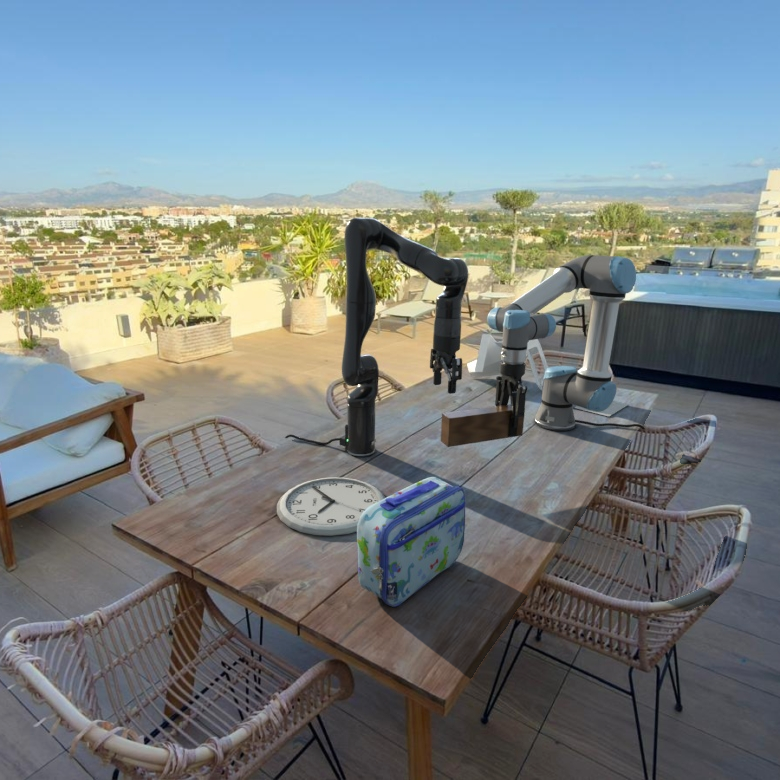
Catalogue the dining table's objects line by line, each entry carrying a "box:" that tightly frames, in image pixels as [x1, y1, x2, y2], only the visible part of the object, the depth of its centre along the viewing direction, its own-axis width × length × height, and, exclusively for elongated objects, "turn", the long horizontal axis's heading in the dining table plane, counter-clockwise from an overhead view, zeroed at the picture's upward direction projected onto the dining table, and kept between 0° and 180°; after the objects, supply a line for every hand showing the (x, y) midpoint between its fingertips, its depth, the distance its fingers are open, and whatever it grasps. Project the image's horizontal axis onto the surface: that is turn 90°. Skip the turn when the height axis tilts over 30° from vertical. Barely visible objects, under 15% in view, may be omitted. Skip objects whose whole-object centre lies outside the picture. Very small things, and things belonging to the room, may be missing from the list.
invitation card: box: [573, 400, 629, 418], centre depth 226 cm, size 21×1×15 cm
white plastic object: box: [466, 333, 549, 391], centre depth 257 cm, size 37×45×31 cm
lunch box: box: [356, 476, 466, 608], centre depth 110 cm, size 26×11×21 cm, turn 134°
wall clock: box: [276, 476, 386, 537], centre depth 142 cm, size 30×2×30 cm
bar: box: [440, 403, 526, 448], centre depth 162 cm, size 26×5×9 cm, turn 112°
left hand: (444, 388), depth 149 cm, fingers open, 8 cm apart
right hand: (507, 432), depth 166 cm, fingers closed on bar, 5 cm apart
